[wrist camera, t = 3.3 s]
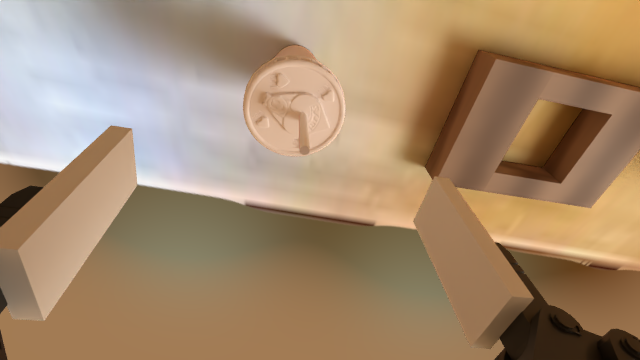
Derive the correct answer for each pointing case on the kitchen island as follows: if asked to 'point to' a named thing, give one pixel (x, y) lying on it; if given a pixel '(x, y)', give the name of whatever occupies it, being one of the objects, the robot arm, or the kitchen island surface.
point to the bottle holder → (510, 114)
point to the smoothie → (294, 103)
